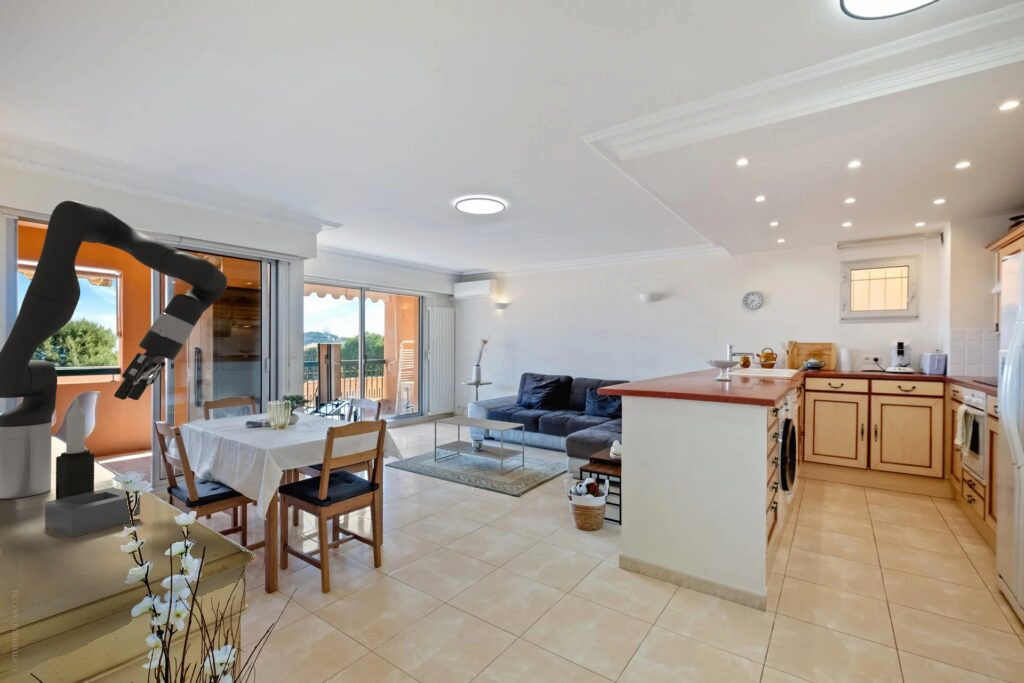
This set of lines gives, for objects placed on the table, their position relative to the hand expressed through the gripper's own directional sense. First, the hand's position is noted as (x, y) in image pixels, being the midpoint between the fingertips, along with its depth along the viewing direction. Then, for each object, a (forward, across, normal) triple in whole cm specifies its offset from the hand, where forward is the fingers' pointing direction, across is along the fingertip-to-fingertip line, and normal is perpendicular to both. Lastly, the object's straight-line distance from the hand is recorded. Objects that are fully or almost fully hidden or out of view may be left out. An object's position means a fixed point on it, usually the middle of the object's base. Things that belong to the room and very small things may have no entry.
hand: (125, 398), depth 106 cm
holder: (+24, +7, +9) cm, 26 cm away
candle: (+26, -1, +4) cm, 26 cm away
